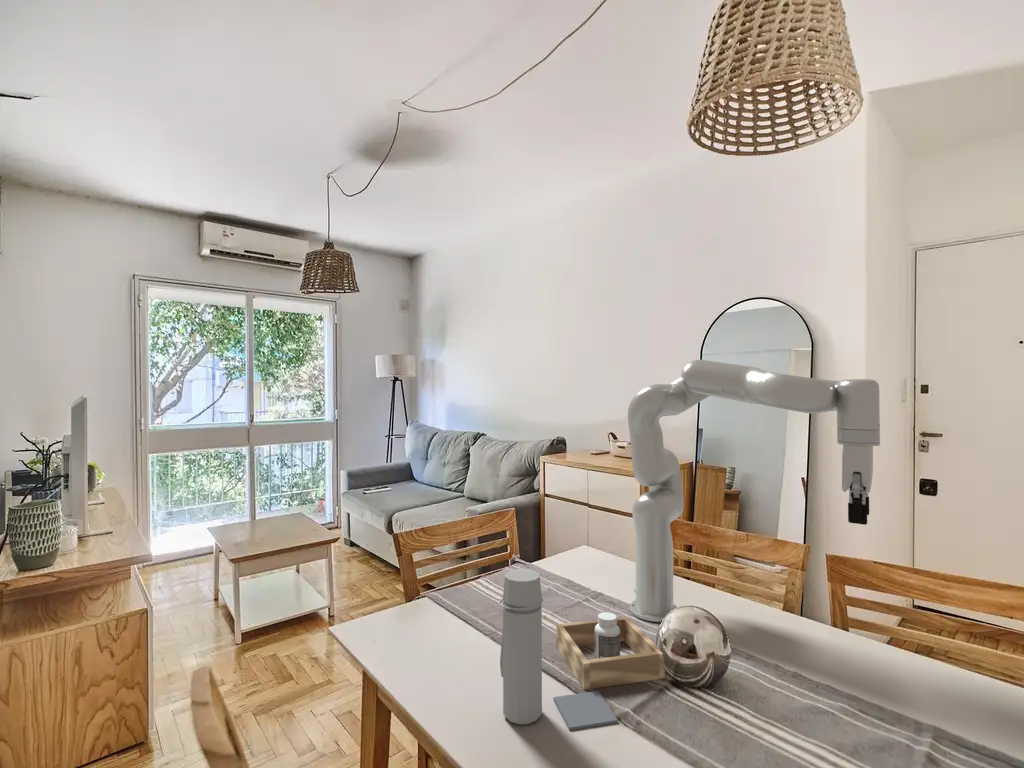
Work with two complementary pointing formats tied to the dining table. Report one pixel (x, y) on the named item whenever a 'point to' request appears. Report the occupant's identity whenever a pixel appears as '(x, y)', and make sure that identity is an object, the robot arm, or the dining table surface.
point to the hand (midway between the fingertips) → (859, 518)
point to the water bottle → (522, 646)
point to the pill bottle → (607, 636)
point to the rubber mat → (584, 710)
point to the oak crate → (609, 669)
